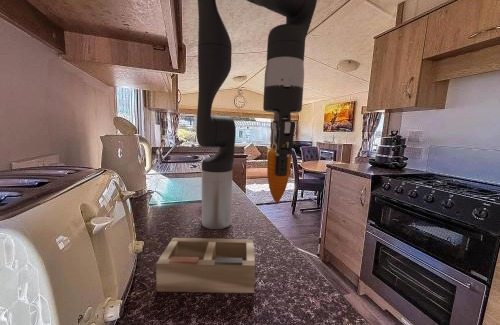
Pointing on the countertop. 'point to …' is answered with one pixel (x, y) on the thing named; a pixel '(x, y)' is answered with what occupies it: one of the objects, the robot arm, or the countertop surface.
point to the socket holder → (207, 266)
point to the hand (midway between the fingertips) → (278, 172)
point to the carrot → (276, 182)
